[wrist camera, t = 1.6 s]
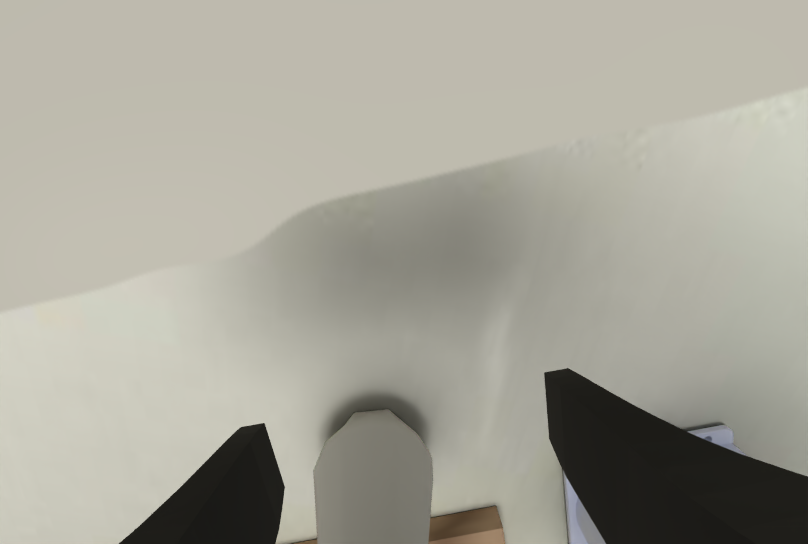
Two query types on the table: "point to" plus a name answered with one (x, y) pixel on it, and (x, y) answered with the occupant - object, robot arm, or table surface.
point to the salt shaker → (373, 483)
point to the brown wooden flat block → (463, 528)
